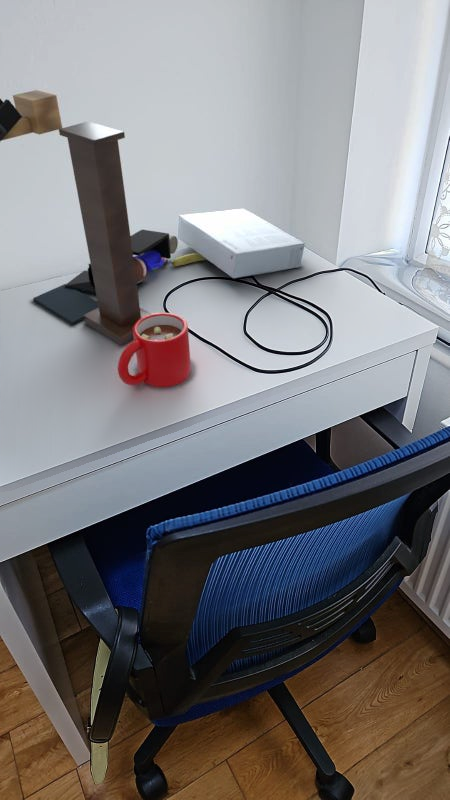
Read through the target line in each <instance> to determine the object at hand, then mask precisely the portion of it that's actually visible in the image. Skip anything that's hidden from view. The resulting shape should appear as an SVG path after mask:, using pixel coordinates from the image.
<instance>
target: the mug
mask: <svg viewBox="0 0 450 800" xmlns="http://www.w3.org/2000/svg"><path fill="white" fill-rule="evenodd" d="M133 337H134V339H133V340H132V341H130V343H129V344H128V345H127V346H126V347H125V348H124V349H123V351H122V352H121V354H120V356H119V358H118V364H117V374H118V377H119V379H120V380H121V381H122V382H123V383H124V384H126V385H128V386H138V385H140V384H143V383H145V384H147V385H149V386H152V387H157V388H168V387H169V388H170V387H173V386H176V385H179V384H181V383H183V382H184V381H185V380H187V379H188V378H189V376H190V375H191V371H192V364H191V351H190V350H191V349H190V337H189V326H188V322H187V321H186V320H185V318H184V317H182V316H180V315H178V314H175V313H171V312H155V313H151V314H150V315H147V316H145V317H143V318H141V319H139V320H138V321H137V322H136V323H135V325H134V326H133ZM134 355H135V356H136V363H137V370H138V373H137V374H134V375H133V374H130V372H129V364H130V362H131V359H132V357H133V356H134Z"/></svg>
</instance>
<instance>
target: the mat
mask: <svg viewBox="0 0 450 800" xmlns="http://www.w3.org/2000/svg"><path fill="white" fill-rule="evenodd" d="M66 284H67V283H64V284H62V285H59V286H57V287H55V288H53V289H51V290H50V289H49V291H46V292H43V293H42V294H39V295H36V296H34V297H33V298H32V300H33V302H35V303H37V304H38V305H39V306H41V307H42V308H45V309H46V310H48V311H50V312H51V313H53V314H54V315H55V316H57V317H59V318H60V319H62V320H63V321H66V322H67V323H69V324H70V325H72V326H74V325H76V324H77V323H80V322H81V321H84V317H83V315H85V314H87V313H89V312H91V311H93V310H95V309H97V308H99V306H98V301H97V300H96V299H94V298H92V297H90V296H88V295H86V294H85V293H84V292H82V291H80V290H76V289H71V288H67V287H65V285H66Z"/></svg>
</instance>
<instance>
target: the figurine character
mask: <svg viewBox="0 0 450 800" xmlns="http://www.w3.org/2000/svg"><path fill="white" fill-rule="evenodd" d="M130 237H131V244H132V252H133V259H134V267H135V275H136V282H137V283H139V282H143V280H144V279H145V277H146V275H147V273H148V272H149V271H150V272H151V271H153V270H154V269H157V268H161V267H162V266H163V265H165V264H167V263H168V262H169V259H171V258H172V256H171V255H173V254H175V253H176V252H177V249H178V243H179V241H178V240H179V239H178V236H175V235H170V233H167V232H162V231H155V230H148V229H140V230H139V231H137V232H134V233H133V234H132V235H131V234H130Z"/></svg>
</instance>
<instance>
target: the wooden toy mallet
mask: <svg viewBox="0 0 450 800" xmlns="http://www.w3.org/2000/svg"><path fill="white" fill-rule="evenodd" d="M12 98H13V103H14V107H15V108H16V110H17V111H18V112H19V113H20V115H21V116H22V118H21V119H20V120H19V121H18V122H17V123H16V124H15V125H14V127H13V128H12V129H11V130H10V131H9V132H8V133H7V135H6V136H5V137H4V138H3V139H2V140H1V141H6V140H9V139H14V138H17V137H21V136H25V135H29V134H36V135H39V136H40V135H44V134H47V133H51V132H55V131H59V129H61V128H63V124H62V123H63V122H62V118H61V113H60V107H59V102H58V97H57V95H56V94H53V93H49V92H45V91H42V90H37V89H35V90H31V91H26V92H22V93H17V94H13V95H12ZM1 141H0V142H1Z"/></svg>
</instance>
